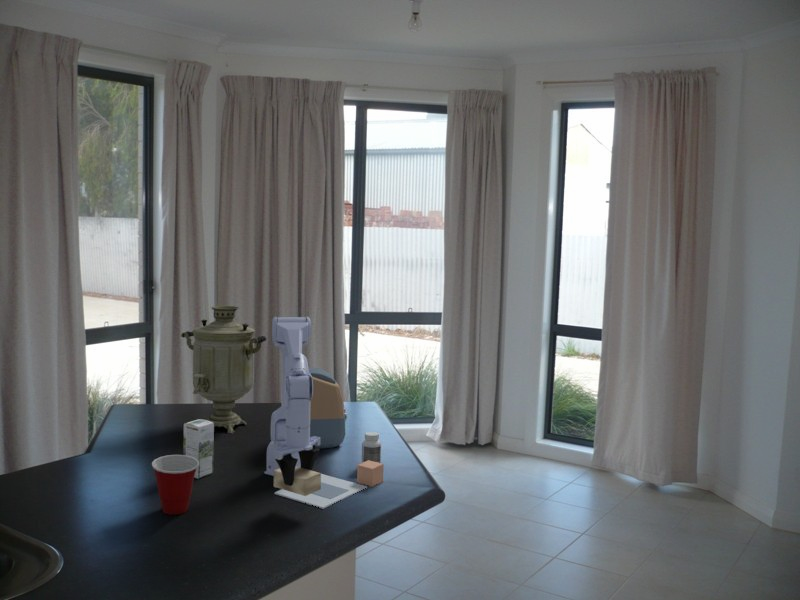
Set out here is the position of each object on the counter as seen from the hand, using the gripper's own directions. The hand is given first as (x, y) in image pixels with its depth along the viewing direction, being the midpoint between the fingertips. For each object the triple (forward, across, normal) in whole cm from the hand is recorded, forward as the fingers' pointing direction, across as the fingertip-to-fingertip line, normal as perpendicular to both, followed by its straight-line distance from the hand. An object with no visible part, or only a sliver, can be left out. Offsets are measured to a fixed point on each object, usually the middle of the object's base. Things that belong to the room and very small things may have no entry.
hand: (297, 481), depth 179 cm
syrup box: (+8, +3, +38) cm, 39 cm away
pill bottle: (+8, +37, +5) cm, 38 cm away
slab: (+2, 0, 0) cm, 2 cm away
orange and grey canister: (+8, +45, +32) cm, 56 cm away
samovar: (+8, +36, +67) cm, 76 cm away
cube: (+8, +27, -2) cm, 28 cm away
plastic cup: (+8, -17, +23) cm, 30 cm away
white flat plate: (+8, +14, +4) cm, 16 cm away
